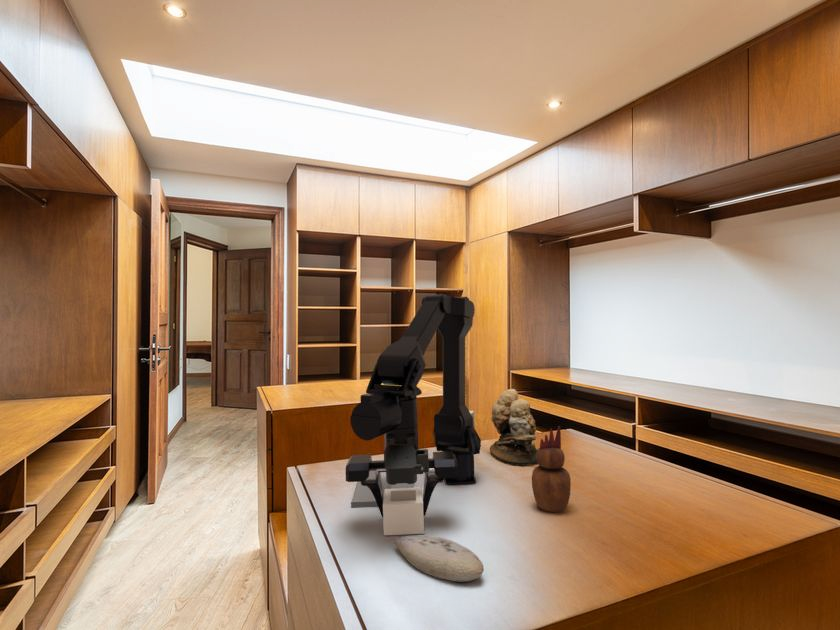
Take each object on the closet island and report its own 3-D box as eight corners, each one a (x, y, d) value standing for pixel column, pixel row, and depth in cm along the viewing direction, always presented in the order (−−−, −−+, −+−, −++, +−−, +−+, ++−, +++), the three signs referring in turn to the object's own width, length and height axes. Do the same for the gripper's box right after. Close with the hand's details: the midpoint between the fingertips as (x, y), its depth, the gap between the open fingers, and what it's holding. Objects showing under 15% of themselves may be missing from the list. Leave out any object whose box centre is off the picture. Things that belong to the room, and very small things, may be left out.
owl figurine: (555, 465, 102) (553, 393, 102) (508, 471, 100) (505, 396, 99) (522, 443, 120) (519, 381, 120) (481, 447, 117) (479, 384, 117)
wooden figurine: (571, 503, 81) (568, 423, 81) (571, 517, 76) (568, 431, 76) (534, 499, 83) (531, 421, 83) (531, 513, 78) (528, 429, 78)
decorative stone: (408, 541, 70) (407, 520, 70) (495, 573, 60) (494, 549, 60) (382, 559, 65) (382, 536, 65) (473, 597, 56) (472, 570, 56)
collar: (422, 515, 78) (421, 487, 78) (424, 533, 72) (423, 503, 72) (385, 516, 78) (384, 488, 78) (383, 535, 71) (382, 504, 71)
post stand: (413, 481, 95) (412, 453, 95) (414, 504, 83) (413, 473, 83) (358, 483, 94) (357, 455, 94) (351, 507, 82) (350, 475, 82)
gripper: (339, 440, 66) (342, 542, 66) (461, 435, 67) (464, 537, 67) (348, 422, 78) (351, 510, 78) (453, 418, 78) (455, 505, 78)
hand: (403, 515), depth 75 cm, fingers closed on collar, 7 cm apart
